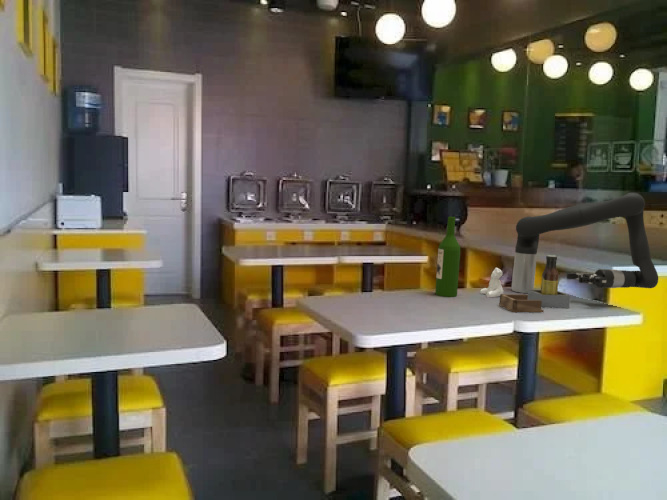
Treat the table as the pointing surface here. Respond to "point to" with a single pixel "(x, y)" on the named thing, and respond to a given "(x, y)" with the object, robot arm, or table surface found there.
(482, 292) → the white creature statuette
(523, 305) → the tray
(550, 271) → the sauce bottle
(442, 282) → the wine bottle
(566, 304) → the grey open box
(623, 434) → the table surface
